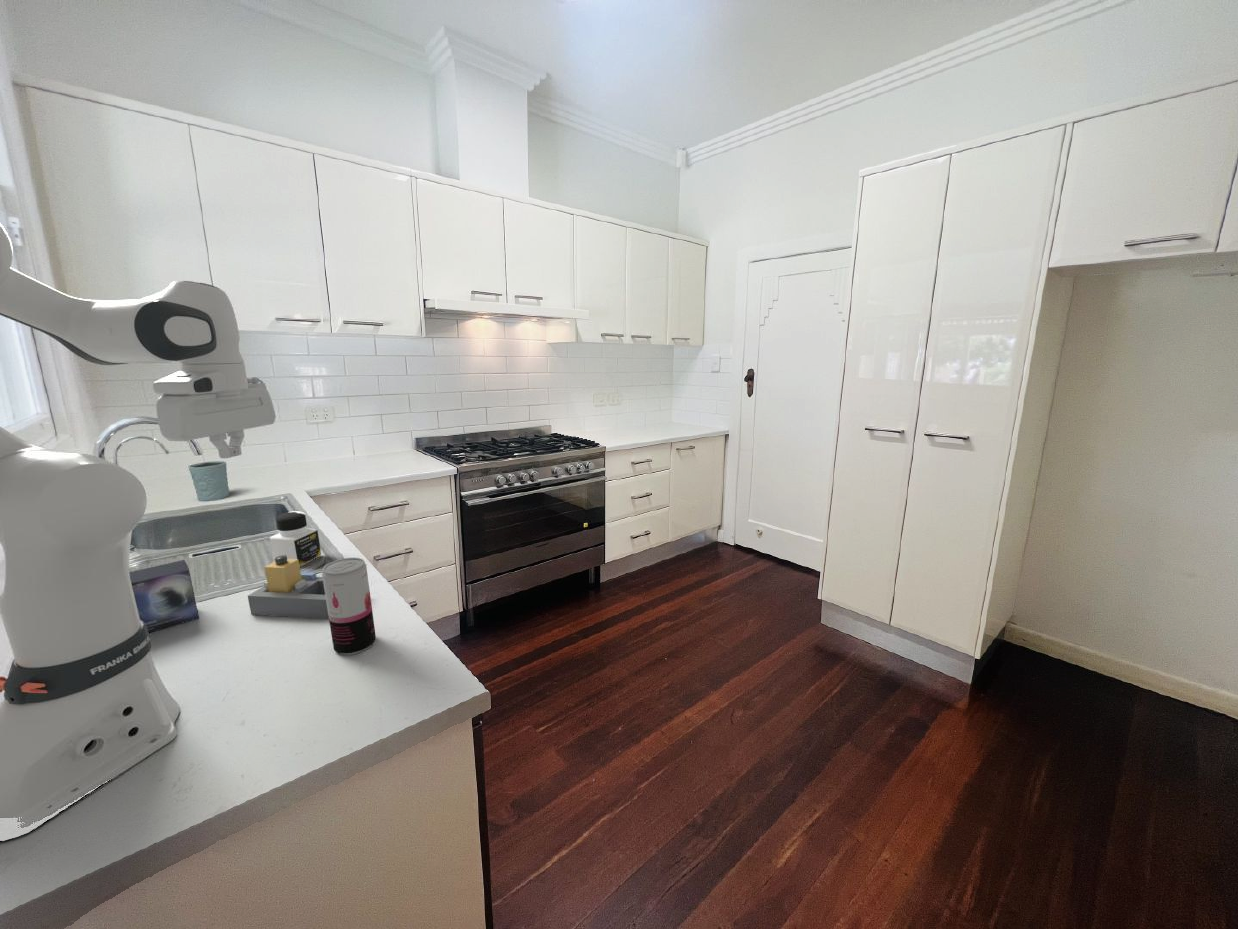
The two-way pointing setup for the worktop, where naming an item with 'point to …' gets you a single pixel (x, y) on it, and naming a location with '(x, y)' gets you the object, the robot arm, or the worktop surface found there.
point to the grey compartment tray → (292, 599)
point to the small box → (164, 595)
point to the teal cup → (210, 480)
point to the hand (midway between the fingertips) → (231, 456)
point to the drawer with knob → (283, 574)
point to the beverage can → (349, 605)
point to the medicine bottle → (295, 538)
